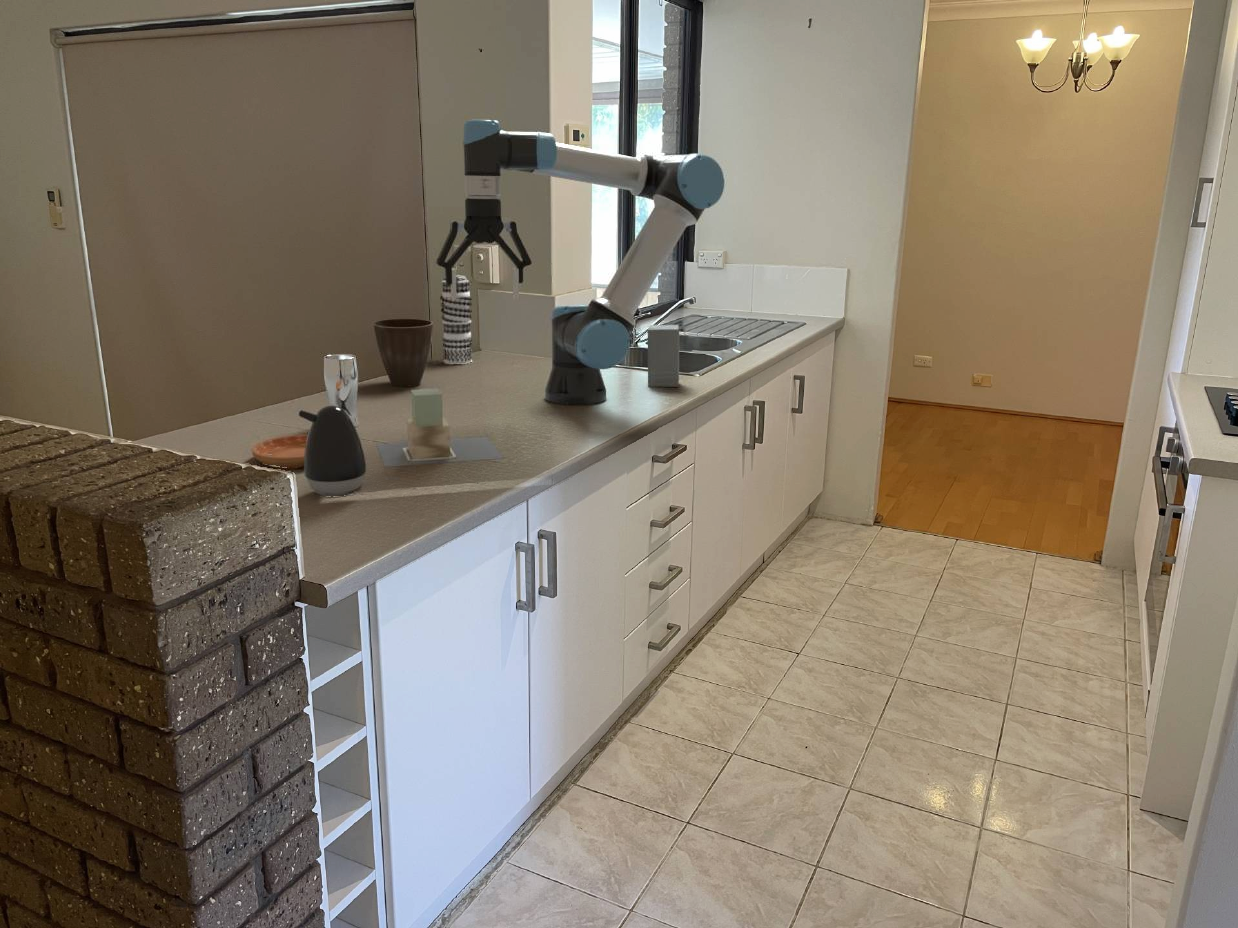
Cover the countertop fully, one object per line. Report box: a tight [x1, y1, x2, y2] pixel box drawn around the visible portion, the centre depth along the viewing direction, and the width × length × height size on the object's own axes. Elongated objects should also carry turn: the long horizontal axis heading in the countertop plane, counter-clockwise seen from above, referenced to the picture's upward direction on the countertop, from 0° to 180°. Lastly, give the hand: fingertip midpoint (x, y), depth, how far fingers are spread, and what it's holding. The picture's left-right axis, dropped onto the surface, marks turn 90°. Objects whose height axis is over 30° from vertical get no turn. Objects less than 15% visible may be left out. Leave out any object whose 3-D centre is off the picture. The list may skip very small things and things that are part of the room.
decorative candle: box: [439, 274, 474, 365], centre depth 275 cm, size 9×9×25 cm
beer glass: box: [323, 353, 360, 428], centre depth 204 cm, size 7×7×15 cm
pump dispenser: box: [298, 405, 367, 498], centre depth 160 cm, size 10×10×15 cm
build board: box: [376, 436, 504, 468], centre depth 184 cm, size 22×16×1 cm
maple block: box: [406, 417, 451, 459], centre depth 181 cm, size 7×7×6 cm
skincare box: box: [647, 324, 680, 388], centre depth 250 cm, size 8×7×16 cm
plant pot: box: [373, 318, 434, 387], centre depth 246 cm, size 15×15×16 cm
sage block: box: [410, 388, 444, 427], centre depth 179 cm, size 5×5×6 cm
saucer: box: [251, 434, 308, 469], centre depth 181 cm, size 16×16×3 cm
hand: (485, 299), depth 206 cm, fingers open, 13 cm apart
